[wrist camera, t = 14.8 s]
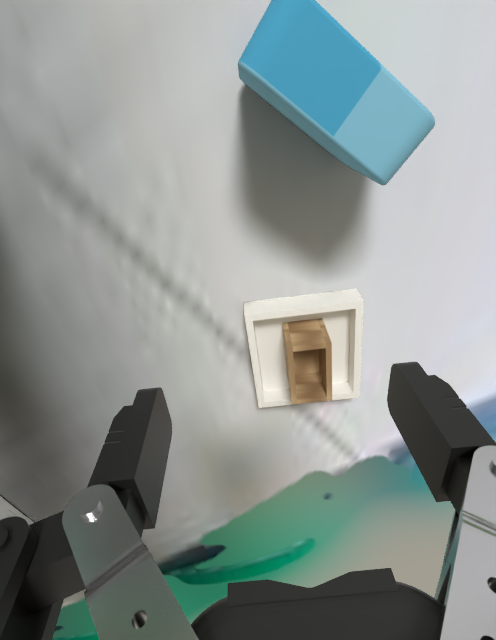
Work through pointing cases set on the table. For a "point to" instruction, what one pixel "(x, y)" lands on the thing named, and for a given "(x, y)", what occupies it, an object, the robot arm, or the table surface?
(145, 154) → the table surface
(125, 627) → the robot arm
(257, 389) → the large crate
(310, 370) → the small crate
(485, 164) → the table surface
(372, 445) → the table surface
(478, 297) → the table surface
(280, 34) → the blue rounded block
